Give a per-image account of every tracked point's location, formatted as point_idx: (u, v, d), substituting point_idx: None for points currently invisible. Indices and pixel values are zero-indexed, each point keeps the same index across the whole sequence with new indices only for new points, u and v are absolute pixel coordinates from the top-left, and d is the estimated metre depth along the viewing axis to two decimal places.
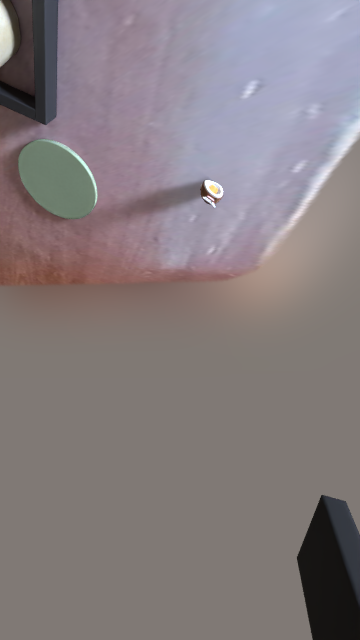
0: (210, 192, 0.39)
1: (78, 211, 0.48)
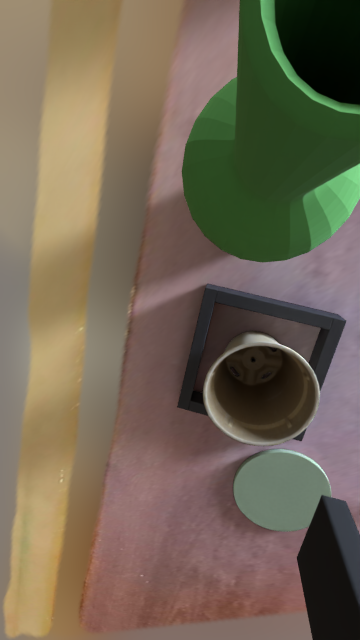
0: None
1: (301, 521, 0.39)
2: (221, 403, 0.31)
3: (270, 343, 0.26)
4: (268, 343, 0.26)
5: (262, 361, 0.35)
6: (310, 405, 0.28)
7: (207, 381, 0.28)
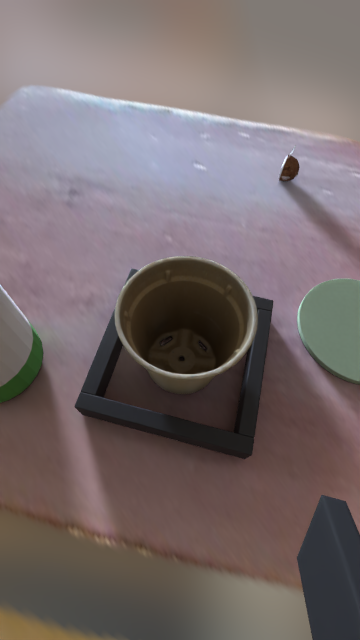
0: (285, 160, 0.39)
1: None
2: None
3: (117, 301, 0.22)
4: (117, 302, 0.22)
5: (184, 349, 0.30)
6: (199, 267, 0.25)
7: (167, 372, 0.20)
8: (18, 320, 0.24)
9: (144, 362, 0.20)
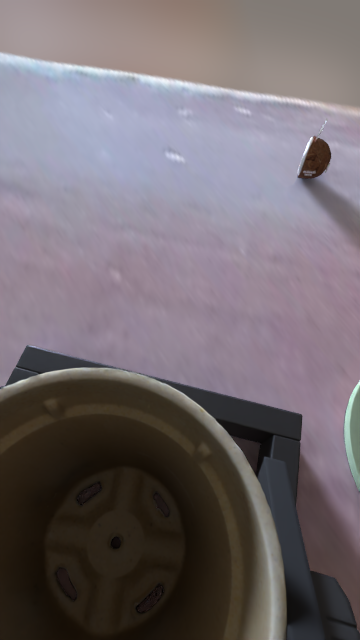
0: (309, 144, 0.24)
1: None
2: None
3: None
4: None
5: (123, 516, 0.15)
6: (131, 393, 0.10)
7: None
8: None
9: None
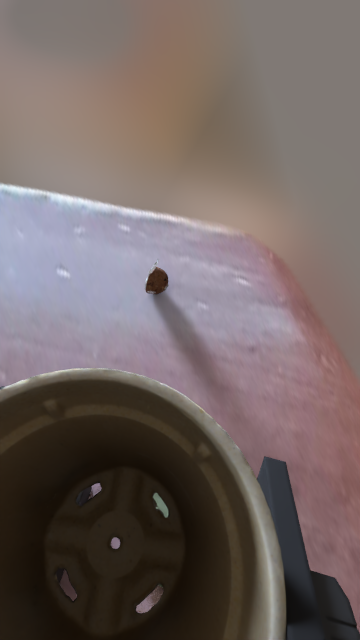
0: (149, 274, 0.34)
1: None
2: None
3: None
4: None
5: (123, 516, 0.15)
6: (130, 393, 0.10)
7: None
8: None
9: None
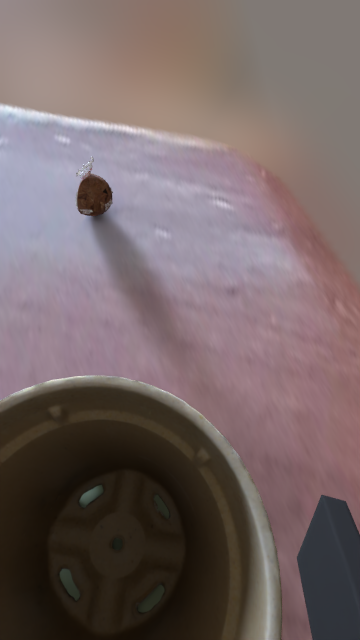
0: (81, 182, 0.23)
1: None
2: None
3: None
4: None
5: (125, 518, 0.15)
6: (133, 399, 0.10)
7: None
8: None
9: None
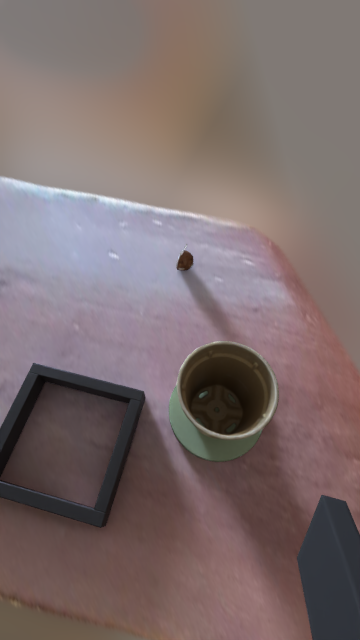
0: None
1: None
2: (248, 427, 0.31)
3: (178, 378, 0.31)
4: (178, 380, 0.31)
5: (218, 401, 0.38)
6: (234, 348, 0.34)
7: (217, 434, 0.29)
8: None
9: (201, 427, 0.29)
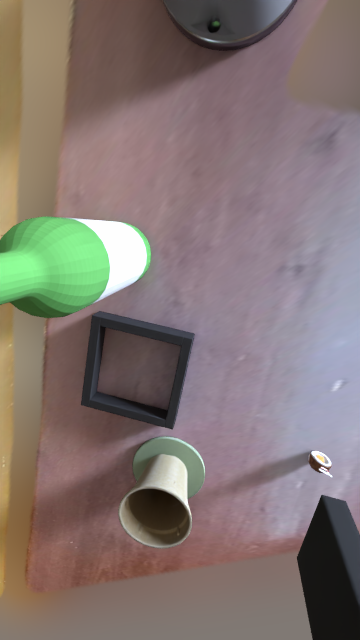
0: (322, 463, 0.43)
1: None
2: (135, 514, 0.45)
3: (157, 487, 0.40)
4: (156, 487, 0.40)
5: None
6: (188, 523, 0.42)
7: (120, 507, 0.42)
8: None
9: (124, 499, 0.41)
